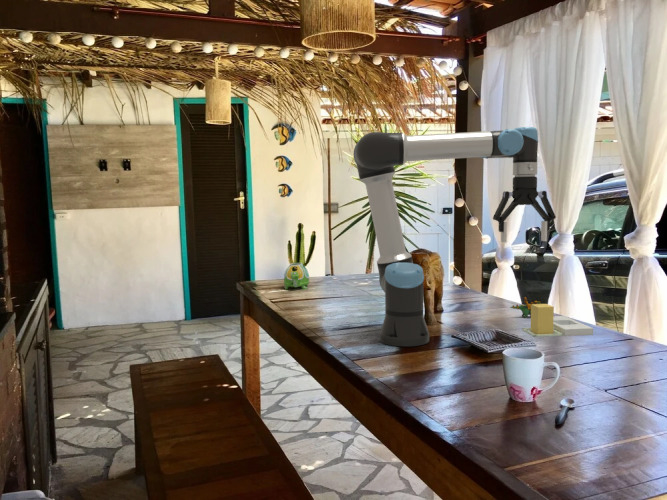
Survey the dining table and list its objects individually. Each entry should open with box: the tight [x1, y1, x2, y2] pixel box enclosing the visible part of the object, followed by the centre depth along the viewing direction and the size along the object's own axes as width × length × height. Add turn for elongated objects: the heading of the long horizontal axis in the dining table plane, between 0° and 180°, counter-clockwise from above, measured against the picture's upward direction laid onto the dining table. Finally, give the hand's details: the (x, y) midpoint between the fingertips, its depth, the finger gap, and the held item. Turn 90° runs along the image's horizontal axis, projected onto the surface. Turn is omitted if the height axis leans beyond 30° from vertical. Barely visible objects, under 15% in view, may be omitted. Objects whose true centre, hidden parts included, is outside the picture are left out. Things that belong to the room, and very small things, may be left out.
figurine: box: [509, 296, 542, 319], centre depth 203 cm, size 3×12×8 cm, turn 96°
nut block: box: [530, 303, 555, 335], centre depth 181 cm, size 5×5×9 cm
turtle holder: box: [283, 262, 310, 290], centre depth 278 cm, size 12×18×12 cm
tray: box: [521, 327, 564, 338], centre depth 182 cm, size 9×9×2 cm
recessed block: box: [553, 315, 594, 337], centre depth 186 cm, size 9×18×3 cm, turn 5°
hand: (523, 241), depth 189 cm, fingers open, 13 cm apart
